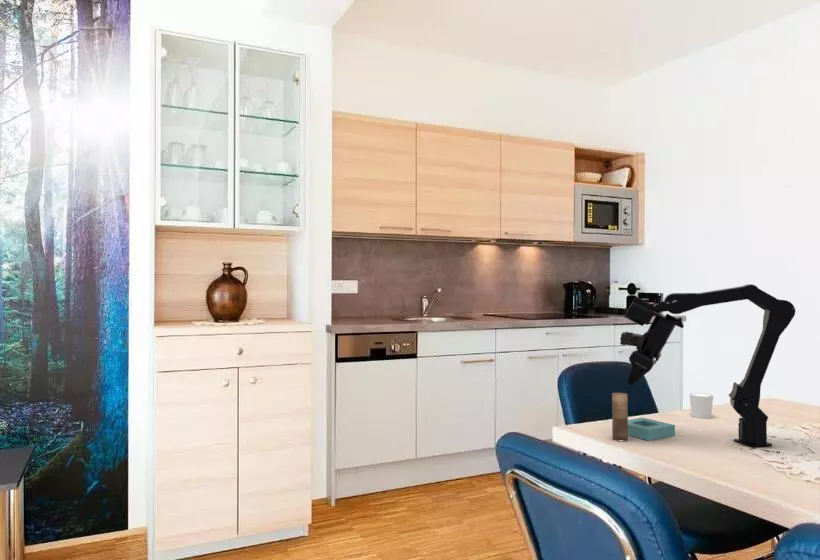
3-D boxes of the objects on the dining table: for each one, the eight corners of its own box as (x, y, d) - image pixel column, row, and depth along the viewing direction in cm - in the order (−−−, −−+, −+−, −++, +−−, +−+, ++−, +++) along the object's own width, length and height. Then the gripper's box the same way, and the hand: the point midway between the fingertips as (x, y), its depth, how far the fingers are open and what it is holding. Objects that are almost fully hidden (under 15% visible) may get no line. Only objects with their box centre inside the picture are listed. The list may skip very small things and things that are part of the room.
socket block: (674, 435, 168) (674, 424, 168) (648, 440, 163) (648, 429, 163) (642, 427, 178) (642, 417, 178) (616, 432, 172) (616, 422, 172)
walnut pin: (630, 440, 163) (630, 394, 163) (617, 441, 162) (616, 395, 162) (623, 437, 167) (622, 392, 167) (609, 437, 166) (609, 392, 166)
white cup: (689, 417, 191) (688, 395, 191) (690, 413, 197) (689, 392, 197) (713, 419, 187) (713, 397, 187) (713, 415, 193) (713, 393, 194)
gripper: (636, 317, 179) (611, 361, 183) (625, 323, 163) (599, 372, 167) (672, 335, 175) (646, 380, 179) (665, 343, 158) (637, 393, 162)
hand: (631, 381), depth 172 cm, fingers open, 9 cm apart
